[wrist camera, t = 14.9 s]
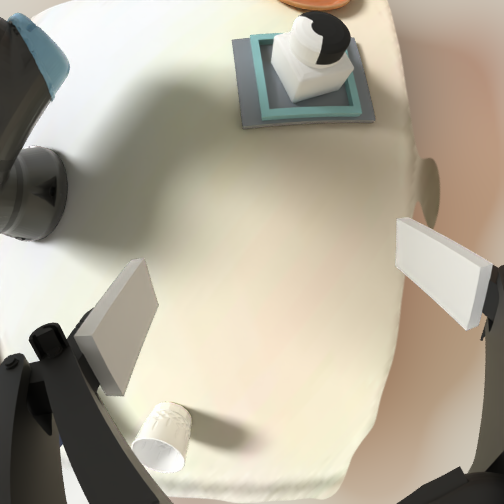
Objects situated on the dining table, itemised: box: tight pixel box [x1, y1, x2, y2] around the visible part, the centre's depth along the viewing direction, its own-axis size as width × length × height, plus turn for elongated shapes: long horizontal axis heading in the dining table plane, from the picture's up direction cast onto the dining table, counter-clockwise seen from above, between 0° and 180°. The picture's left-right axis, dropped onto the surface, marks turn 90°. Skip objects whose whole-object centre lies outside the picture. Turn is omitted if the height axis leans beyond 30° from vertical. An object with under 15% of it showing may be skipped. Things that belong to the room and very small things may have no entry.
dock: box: [232, 33, 375, 129], centre depth 34 cm, size 18×14×3 cm
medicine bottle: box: [271, 11, 354, 103], centre depth 28 cm, size 7×7×12 cm
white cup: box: [131, 402, 192, 473], centre depth 37 cm, size 8×8×10 cm
